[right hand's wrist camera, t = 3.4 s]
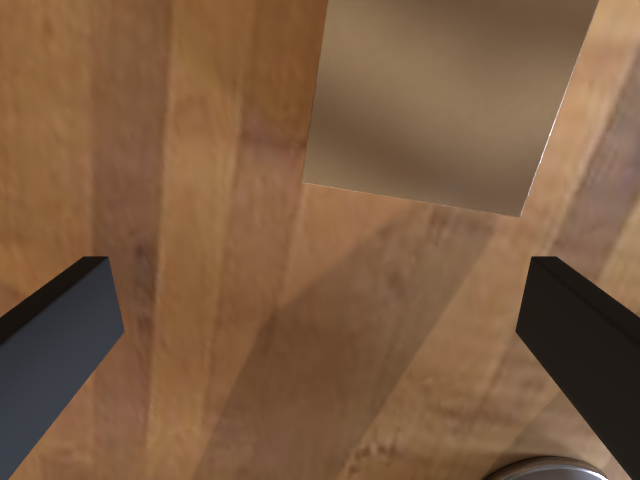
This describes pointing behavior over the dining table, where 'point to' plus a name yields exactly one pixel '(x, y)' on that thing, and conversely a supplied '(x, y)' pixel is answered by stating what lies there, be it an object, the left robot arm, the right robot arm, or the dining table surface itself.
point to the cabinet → (441, 97)
